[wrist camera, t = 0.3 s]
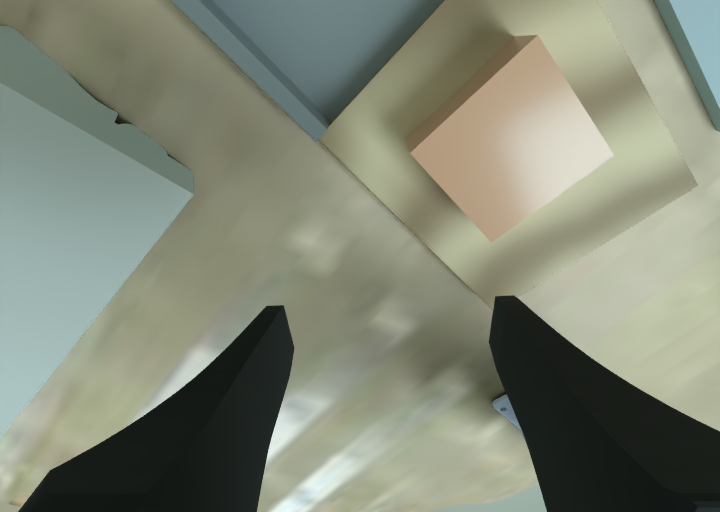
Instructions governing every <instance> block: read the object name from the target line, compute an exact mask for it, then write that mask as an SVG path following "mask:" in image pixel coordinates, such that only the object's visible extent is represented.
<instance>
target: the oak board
mask: <svg viewBox="0 0 720 512" xmlns="http://www.w3.org/2000/svg"><path fill="white" fill-rule="evenodd" d="M527 35H538V36H539V37H540V39H541V41H542V42H543V44H544V45H545V47H546V49H547V50H548V52H549V53H550V55H551V56H552V58H553V60H554V61H555V63H556V64H557V66H558V67H559V69H560V71H561V72H562V74H563V75H564V77H565V79H566V80H567V82H568V83H569V85H570V86H571V88H572V90H573V91H574V93H575V94H576V96H577V97H578V99H579V101H580V102H581V104H582V105H583V107H584V109H585V110H586V112H587V113H588V115H589V116H590V118H591V120H592V121H593V123H594V124H595V126H596V127H597V129H598V131H599V132H600V134H601V135H602V137H603V139H604V140H605V142H606V143H607V145H608V146H609V148H610V150H611V151H612V153H613V154H614V156H613V157H611V158H610V159H608V160H607V161H606V162H604V163H603V164H601V165H600V166H599V167H597V168H596V169H594V170H593V171H592V172H590V173H589V174H587V175H586V176H585V177H583V178H582V179H580V180H579V181H578V182H576V183H575V184H573V185H572V186H570V187H569V188H568V189H566V190H565V191H563V192H562V193H561V194H559V195H558V196H556V197H555V198H554V199H552V200H551V201H549V202H548V203H547V204H545V205H544V206H542V207H541V208H540V209H538V210H537V211H535V212H534V213H533V214H531V215H530V216H528V217H527V218H525V219H524V220H523V221H521V222H520V223H518V224H517V225H516V226H514V227H513V228H511V229H510V230H509V231H507V232H506V233H504V234H503V235H502V236H500V237H499V238H497V239H496V240H495V241H493V242H492V243H491V242H490V241H489V240H488V238H487V237H486V236H485V235H484V234H483V233H482V232H481V231H480V230H479V229H478V227H477V226H476V225H475V224H474V223H473V222H472V221H471V220H470V219H469V218H468V216H467V215H466V214H465V213H464V212H463V211H462V210H461V209H460V208H459V207H458V206H457V204H456V203H455V202H454V201H453V200H452V199H451V198H450V197H449V196H448V195H447V193H446V192H445V191H444V190H443V189H442V188H441V187H440V186H439V185H438V184H437V182H436V181H435V180H434V179H433V178H432V177H431V176H430V175H429V174H428V173H427V172H426V170H425V169H424V168H423V167H422V166H421V165H420V164H419V163H418V162H417V161H416V159H415V158H414V157H413V156H412V155H411V154H410V152H409V149H408V146H407V143H406V140H405V139H406V138H407V137H408V136H409V135H410V134H411V133H413V132H414V131H415V130H416V129H417V128H418V127H419V126H420V125H421V124H422V123H423V122H424V121H425V120H426V119H427V118H428V117H429V116H430V115H431V114H433V113H434V112H435V111H436V110H437V109H438V108H439V107H440V106H441V105H442V104H443V103H444V102H445V101H446V100H447V99H448V98H449V97H450V96H451V95H453V94H454V93H455V92H456V91H457V90H458V89H459V88H460V87H461V86H462V85H463V84H464V83H465V82H466V81H467V80H468V79H469V78H470V77H472V76H473V75H474V74H475V73H476V72H477V71H478V70H479V69H480V68H481V67H482V66H483V65H484V64H485V63H486V62H487V61H488V60H489V59H490V58H492V57H493V56H494V55H495V54H496V53H497V52H498V51H499V50H500V49H501V48H502V47H503V46H504V45H505V44H506V43H507V42H508V41H509V40H510V39H512V38H513V37H514V36H527ZM319 140H320V141H321V142H322V143H323V144H324V145H325V146H326V147H327V148H328V149H329V150H330V151H331V152H332V153H333V154H334V155H335V156H336V157H337V158H338V159H339V160H340V161H341V162H342V163H343V164H344V165H345V166H346V167H347V168H348V169H349V170H350V171H351V172H353V173H354V174H355V175H356V176H357V177H358V178H359V179H360V180H361V181H362V182H363V183H364V184H365V185H366V186H367V187H368V188H369V189H370V190H371V191H372V192H373V193H374V194H375V195H376V196H377V197H378V198H379V199H380V200H381V201H382V202H383V203H384V204H385V205H386V206H387V207H388V208H389V209H390V210H391V211H392V212H393V213H394V214H395V215H396V216H397V217H398V218H399V219H400V220H401V221H402V222H403V223H404V224H405V225H406V226H407V227H408V228H409V229H410V230H412V231H413V232H414V233H415V234H416V235H417V236H418V237H419V238H420V239H421V240H422V241H423V242H424V243H425V244H426V245H427V246H428V247H429V248H430V249H431V250H432V251H433V252H434V253H435V254H436V255H437V256H438V257H439V258H440V259H441V260H442V261H443V262H444V263H445V264H446V265H447V266H448V267H449V268H450V269H451V270H452V271H453V272H454V273H455V274H456V275H457V276H458V277H459V278H460V279H461V280H462V281H463V282H464V283H465V284H466V285H467V286H468V287H469V288H471V289H472V290H473V291H474V292H475V293H476V294H477V295H478V296H479V297H480V298H481V299H482V300H483V301H484V302H485V303H486V304H487V305H488V306H489V307H490V308H491V309H492V310H493V309H494V301H495V296H510V295H514V296H516V297H519V296H521V295H522V294H524V293H526V292H527V291H529V290H530V289H532V288H534V287H535V286H537V285H538V284H540V283H542V282H543V281H545V280H547V279H548V278H550V277H551V276H553V275H555V274H556V273H558V272H559V271H561V270H563V269H564V268H566V267H567V266H569V265H571V264H572V263H574V262H576V261H577V260H579V259H580V258H582V257H584V256H585V255H587V254H588V253H590V252H592V251H593V250H595V249H597V248H598V247H600V246H601V245H603V244H605V243H606V242H608V241H609V240H611V239H613V238H614V237H616V236H618V235H619V234H621V233H622V232H624V231H626V230H627V229H629V228H630V227H632V226H634V225H635V224H637V223H638V222H640V221H642V220H643V219H645V218H647V217H648V216H650V215H651V214H653V213H655V212H656V211H658V210H659V209H661V208H663V207H664V206H666V205H668V204H669V203H671V202H672V201H674V200H676V199H677V198H679V197H680V196H682V195H684V194H685V193H687V192H689V191H690V190H692V189H693V188H695V187H697V186H698V184H697V183H696V181H695V179H694V177H693V175H692V173H691V171H690V170H689V168H688V166H687V164H686V162H685V160H684V158H683V157H682V155H681V153H680V151H679V149H678V147H677V146H676V144H675V142H674V140H673V138H672V136H671V134H670V133H669V131H668V129H667V127H666V125H665V123H664V121H663V120H662V118H661V116H660V114H659V112H658V110H657V109H656V107H655V105H654V103H653V101H652V99H651V97H650V96H649V94H648V92H647V90H646V88H645V86H644V84H643V83H642V81H641V79H640V77H639V75H638V73H637V72H636V70H635V68H634V66H633V64H632V62H631V60H630V59H629V57H628V55H627V53H626V51H625V49H624V47H623V46H622V44H621V42H620V40H619V38H618V36H617V35H616V33H615V31H614V29H613V27H612V25H611V23H610V22H609V20H608V18H607V16H606V14H605V12H604V10H603V9H602V7H601V5H600V3H599V1H598V0H443V1H442V2H441V3H440V4H439V5H438V6H437V7H436V8H435V10H434V11H433V12H432V13H431V14H430V15H429V16H428V17H427V18H426V19H425V20H424V22H423V23H422V24H421V25H420V26H419V27H418V28H417V29H416V30H415V31H414V32H413V34H412V35H411V36H410V37H409V38H408V39H407V40H406V41H405V42H404V43H403V44H402V46H401V47H400V48H399V49H398V50H397V51H396V52H395V53H394V54H393V55H392V56H391V58H390V59H389V60H388V61H387V62H386V63H385V64H384V65H383V66H382V67H381V68H380V70H379V71H378V72H377V73H376V74H375V75H374V76H373V77H372V78H371V79H370V80H369V82H368V83H367V84H366V85H365V86H364V87H363V88H362V89H361V90H360V91H359V92H358V94H357V95H356V96H355V97H354V98H353V99H352V100H351V101H350V102H349V103H348V105H347V106H346V107H345V108H344V109H343V110H342V111H341V112H340V113H339V114H338V115H337V117H336V118H335V119H334V120H333V121H332V122H331V124H330V126H329V127H328V129H327V131H326V132H325V133H324V134H323V135H322V136H321V137H320V138H319Z"/></svg>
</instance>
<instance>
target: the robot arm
mask: <svg viewBox="0 0 720 512" xmlns="http://www.w3.org/2000/svg"><path fill="white" fill-rule="evenodd" d="M489 343H490V347H491V351H492V355H493V359H494V362H495V366H496V369H497V372H498V374H499V377H500V379H501V382H502V384H503V387H504V389H505V392H506V395H504V396H502V397H500V398H498V399H496V400H494V401H493V407H494V408H495V409H496V410H497V411H498V412H499V413H501V414H502V415H503V416H504V417H506V418H507V419H508V420H509V421H510V422H512V423H513V424H514V425H515V426H517V427H518V428H519V429H520V430H521V431H522V433H523V436H524V439H525V441H526V444H527V447H528V449H529V452H530V455H531V459H532V462H533V465H534V468H535V472H536V475H537V478H538V482H539V485H540V489H541V492H542V495H543V499H544V502H545V506H546V509H547V512H720V431H718V430H715V429H713V428H711V427H709V426H707V425H705V424H703V423H701V422H699V421H697V420H695V419H693V418H691V417H689V416H687V415H685V414H683V413H681V412H680V411H678V410H676V409H674V408H672V407H670V406H668V405H666V404H665V403H663V402H661V401H659V400H658V399H656V398H654V397H652V396H650V395H649V394H647V393H645V392H643V391H642V390H640V389H638V388H637V387H635V386H633V385H632V384H630V383H628V382H627V381H625V380H624V379H622V378H620V377H619V376H617V375H616V374H614V373H613V372H611V371H610V370H608V369H606V368H605V367H603V366H602V365H601V364H599V363H598V362H596V361H595V360H593V359H592V358H591V357H589V356H588V355H586V354H585V353H584V352H582V351H581V350H580V349H578V348H577V347H576V346H574V345H573V344H572V343H570V342H569V341H568V340H567V339H565V338H564V337H563V336H561V335H560V334H559V333H558V332H557V331H555V330H554V329H553V328H552V327H550V326H549V325H548V324H547V323H546V322H545V321H543V320H542V319H541V318H540V317H539V316H538V315H536V314H535V313H534V312H533V311H532V310H531V309H529V308H528V307H527V306H526V305H525V304H524V303H523V302H521V301H520V300H519V299H518V298H517V297H516V296H514V295H510V296H495V301H494V309H493V316H492V323H491V331H490V338H489ZM293 353H294V345H293V341H292V337H291V333H290V329H289V325H288V321H287V317H286V313H285V309H284V305H280V306H266V307H265V308H264V309H263V310H262V311H261V313H260V314H259V315H258V316H257V317H256V318H255V319H254V320H253V321H252V322H251V323H250V324H249V325H248V326H247V327H246V329H245V330H244V331H243V332H242V333H241V334H240V335H239V336H238V337H237V338H236V339H235V340H234V341H233V342H232V343H231V344H230V345H229V346H228V347H227V348H226V349H225V350H224V351H223V352H222V353H221V354H220V355H219V356H218V357H217V358H216V359H215V360H214V361H213V362H211V363H210V364H209V365H208V366H207V367H206V368H205V369H204V370H203V371H202V372H201V373H199V374H198V375H197V376H196V377H195V378H194V379H192V380H191V381H190V382H189V383H187V384H186V385H185V386H184V387H182V388H181V389H180V390H179V391H177V392H176V393H175V394H173V395H172V396H171V397H169V398H168V399H167V400H165V401H164V402H162V403H161V404H160V405H158V406H157V407H155V408H154V409H153V410H151V411H150V412H148V413H147V414H146V415H144V416H143V417H141V418H140V419H138V420H137V421H135V422H134V423H132V424H130V425H129V426H127V427H126V428H124V429H123V430H121V431H119V432H118V433H116V434H114V435H113V436H111V437H110V438H108V439H106V440H105V441H103V442H101V443H99V444H98V445H96V446H94V447H92V448H91V449H89V450H87V451H85V452H83V453H82V454H80V455H78V456H76V457H74V458H72V459H71V460H69V461H67V462H65V463H63V464H62V465H60V466H58V467H56V468H54V469H52V470H50V471H49V473H48V474H47V475H46V476H45V478H44V479H43V480H42V482H41V483H40V484H39V485H38V487H37V488H36V489H35V491H34V492H33V493H32V495H31V496H30V497H29V498H28V500H27V501H26V502H25V504H24V505H23V506H22V508H21V509H20V510H19V512H257V507H258V501H259V496H260V490H261V484H262V479H263V474H264V469H265V464H266V459H267V454H268V449H269V445H270V441H271V437H272V434H273V430H274V427H275V424H276V420H277V417H278V414H279V410H280V407H281V404H282V400H283V397H284V394H285V390H286V387H287V383H288V380H289V376H290V371H291V366H292V360H293Z"/></svg>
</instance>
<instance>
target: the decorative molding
mask: <svg viewBox="0 0 720 512" xmlns="http://www.w3.org/2000/svg"><path fill="white" fill-rule="evenodd" d="M117 116H118V113H117V112H115V111H113V110H111V109H109V108H108V107H106V106H104V105H103V104H101V103H100V102H98V101H96V100H95V99H94V98H93V97H92V96H91V95H89V94H88V93H87V92H86V91H85V90H84V89H83V88H81V87H80V86H79V84H78V83H77V82H76V81H75V80H74V79H73V78H72V76H71V75H70V74H69V73H68V72H67V71H66V70H65V69H64V68H62V67H61V66H60V65H59V64H57V63H56V62H55V61H54V60H52V59H51V58H50V57H49V56H47V55H46V54H45V53H44V52H42V51H41V50H40V49H39V48H37V47H36V46H35V45H34V44H32V43H31V42H30V41H29V40H27V39H26V38H25V37H24V36H22V35H21V34H20V33H19V32H17V31H16V30H15V29H14V28H12V27H8V26H0V439H1V437H2V436H3V435H4V434H5V432H6V431H7V430H8V429H9V427H10V426H11V425H12V424H13V422H14V421H15V420H16V419H17V417H18V416H19V415H20V413H21V412H22V411H23V410H24V408H25V407H26V406H27V405H28V403H29V402H30V401H31V400H32V398H33V397H34V396H35V395H36V393H37V392H38V391H39V389H40V388H41V387H42V386H43V384H44V383H45V382H46V381H47V379H48V378H49V377H50V376H51V374H52V373H53V372H54V371H55V369H56V368H57V367H58V366H59V364H60V363H61V362H62V360H63V359H64V358H65V357H66V355H67V354H68V353H69V352H70V350H71V349H72V348H73V347H74V345H75V344H76V343H77V342H78V340H79V339H80V338H81V336H82V335H83V334H84V333H85V331H86V330H87V329H88V328H89V326H90V325H91V324H92V323H93V321H94V320H95V319H96V318H97V316H98V315H99V314H100V313H101V311H102V310H103V309H104V307H105V306H106V305H107V304H108V302H109V301H110V300H111V299H112V297H113V296H114V295H115V294H116V292H117V291H118V290H119V289H120V287H121V286H122V285H123V283H124V282H125V281H126V280H127V278H128V277H129V276H130V275H131V273H132V272H133V271H134V270H135V268H136V267H137V266H138V265H139V263H140V262H141V261H142V259H143V258H144V257H145V256H146V254H147V253H148V252H149V251H150V249H151V248H152V247H153V246H154V244H155V243H156V242H157V241H158V239H159V238H160V237H161V236H162V234H163V233H164V232H165V230H166V229H167V228H168V227H169V225H170V224H171V223H172V222H173V220H174V219H175V218H176V217H177V215H178V214H179V213H180V212H181V210H182V209H183V208H184V206H185V205H186V204H187V203H188V201H189V200H190V199H191V198H192V196H193V195H194V173H193V172H192V171H191V170H190V169H188V168H187V167H185V166H183V165H182V164H180V163H179V162H177V161H175V160H174V159H172V158H171V157H169V156H168V155H167V151H166V150H165V149H163V148H162V147H161V146H160V145H158V144H157V143H156V142H155V141H153V140H152V139H151V138H150V137H148V136H147V135H146V134H145V133H143V132H142V131H141V130H140V129H138V128H137V127H136V126H135V125H132V124H127V123H124V124H119V125H118V124H116V123H115V120H116V118H117Z"/></svg>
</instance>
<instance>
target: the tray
mask: <svg viewBox="0 0 720 512" xmlns="http://www.w3.org/2000/svg"><path fill="white" fill-rule="evenodd" d="M171 1H172V2H173V3H174V4H175V5H176V6H177V7H178V8H179V9H180V10H181V11H182V12H183V13H184V14H185V15H186V16H187V17H188V18H189V19H190V20H191V21H192V22H193V23H195V24H196V25H197V26H198V27H199V28H200V29H201V30H202V31H203V32H204V33H205V34H206V35H207V36H208V37H209V38H210V39H211V40H212V41H213V42H214V43H215V44H216V45H217V46H218V47H219V48H220V49H221V50H222V51H223V52H224V53H225V54H226V55H227V56H228V57H229V58H230V59H231V60H232V61H233V62H234V63H236V64H237V65H238V66H239V67H240V68H241V69H242V70H243V71H244V72H245V73H246V74H247V75H248V76H249V77H250V78H251V79H252V80H253V81H254V82H255V83H256V84H257V85H258V86H259V87H260V88H261V89H262V90H263V91H264V92H265V93H266V94H267V95H268V96H269V97H270V98H271V99H272V100H273V101H274V102H275V103H277V104H278V105H279V106H280V107H281V108H282V109H283V110H284V111H285V112H286V113H287V114H288V115H289V116H290V117H291V118H292V119H293V120H294V121H295V122H296V123H297V124H298V125H299V126H300V127H301V128H302V129H303V130H304V131H305V132H306V133H307V134H308V135H309V136H310V137H311V138H312V139H313V140H314V141H315V142H316V141H317V140H318V139H319V138H320V137H321V136H322V135H323V134H324V133H325V132H326V131H327V129H328V127H329V126H330V124H331V122H332V121H333V120H334V119H335V118H336V117H337V115H338V114H339V113H340V112H341V111H342V110H343V109H344V108H345V107H346V106H347V105H348V103H349V102H350V101H351V100H352V99H353V98H354V97H355V96H356V95H357V94H358V92H359V91H360V90H361V89H362V88H363V87H364V86H365V85H366V84H367V83H368V82H369V80H370V79H371V78H372V77H373V76H374V75H375V74H376V73H377V72H378V71H379V70H380V68H381V67H382V66H383V65H384V64H385V63H386V62H387V61H388V60H389V59H390V58H391V56H392V55H393V54H394V53H395V52H396V51H397V50H398V49H399V48H400V47H401V46H402V44H403V43H404V42H405V41H406V40H407V39H408V38H409V37H410V36H411V35H412V34H413V32H414V31H415V30H416V29H417V28H418V27H419V26H420V25H421V24H422V23H423V22H424V20H425V19H426V18H427V17H428V16H429V15H430V14H431V13H432V12H433V11H434V10H435V8H436V7H437V6H438V5H439V4H440V3H441V2H442V1H443V0H171Z"/></svg>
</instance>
